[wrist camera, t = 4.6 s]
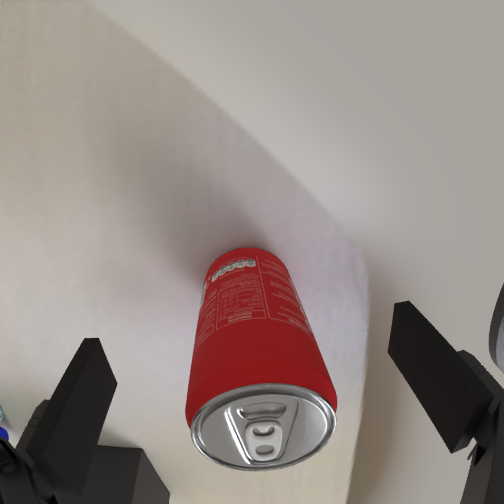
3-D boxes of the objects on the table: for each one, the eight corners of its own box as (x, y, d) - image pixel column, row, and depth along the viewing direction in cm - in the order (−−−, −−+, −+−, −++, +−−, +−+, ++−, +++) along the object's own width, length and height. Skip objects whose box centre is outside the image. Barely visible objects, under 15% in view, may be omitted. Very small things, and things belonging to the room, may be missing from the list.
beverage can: (287, 238, 20) (354, 368, 8) (288, 313, 21) (334, 465, 10) (201, 244, 19) (167, 384, 8) (209, 318, 21) (197, 477, 10)
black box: (143, 447, 26) (129, 520, 18) (172, 493, 29) (166, 553, 21) (57, 438, 26) (33, 498, 18) (96, 486, 29) (82, 538, 21)
